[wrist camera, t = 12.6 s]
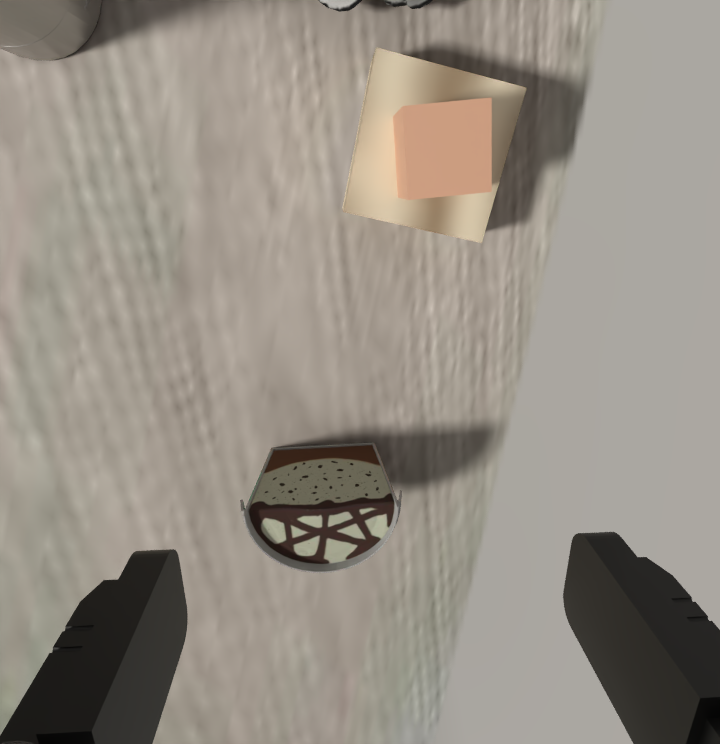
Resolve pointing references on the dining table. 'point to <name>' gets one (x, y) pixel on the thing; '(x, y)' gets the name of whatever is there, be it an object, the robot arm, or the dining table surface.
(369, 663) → the dining table surface
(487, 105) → the terracotta cube
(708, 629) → the robot arm
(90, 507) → the dining table surface
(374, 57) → the birch block
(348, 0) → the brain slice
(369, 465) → the food container
